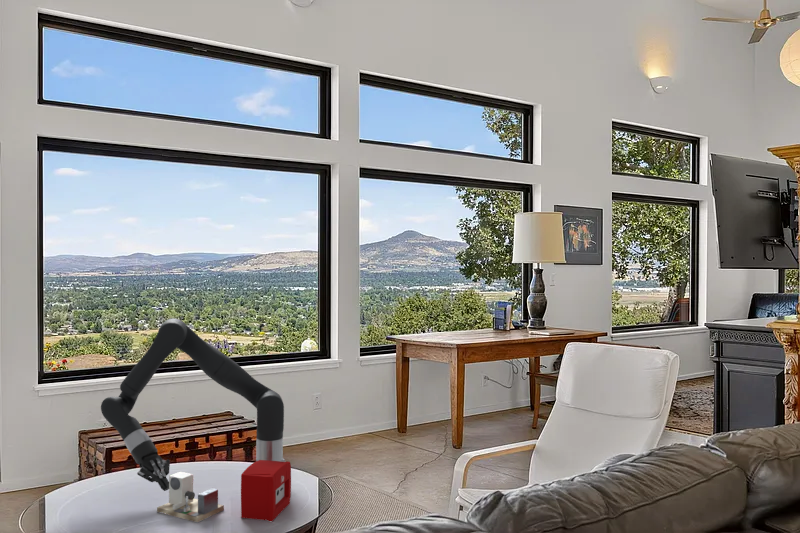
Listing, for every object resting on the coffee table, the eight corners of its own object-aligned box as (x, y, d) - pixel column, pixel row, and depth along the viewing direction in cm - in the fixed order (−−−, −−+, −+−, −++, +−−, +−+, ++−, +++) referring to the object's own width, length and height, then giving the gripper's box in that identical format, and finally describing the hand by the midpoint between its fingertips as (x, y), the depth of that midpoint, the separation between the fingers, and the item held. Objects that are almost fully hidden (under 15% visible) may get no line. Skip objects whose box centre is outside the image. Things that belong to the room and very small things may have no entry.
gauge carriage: (161, 506, 238) (161, 478, 237) (180, 498, 245) (180, 471, 245) (179, 510, 234) (179, 482, 234) (197, 502, 241) (197, 475, 241)
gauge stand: (157, 512, 238) (157, 506, 238) (184, 500, 249) (184, 495, 249) (197, 522, 230) (197, 516, 230) (223, 509, 241) (223, 504, 241)
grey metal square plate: (197, 513, 234) (197, 494, 234) (211, 506, 240) (212, 488, 239) (203, 514, 233) (204, 495, 233) (217, 508, 238) (218, 489, 238)
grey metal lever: (183, 511, 234) (183, 497, 233) (187, 509, 235) (187, 495, 235) (186, 512, 233) (186, 497, 233) (190, 510, 235) (190, 495, 235)
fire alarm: (273, 522, 232) (273, 474, 231) (240, 519, 234) (241, 471, 233) (291, 503, 248) (291, 459, 247) (260, 501, 250) (260, 456, 249)
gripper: (130, 444, 242) (158, 488, 237) (161, 435, 254) (188, 476, 248) (119, 458, 244) (146, 501, 239) (149, 448, 256) (176, 489, 251)
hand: (167, 488), depth 244 cm, fingers closed
